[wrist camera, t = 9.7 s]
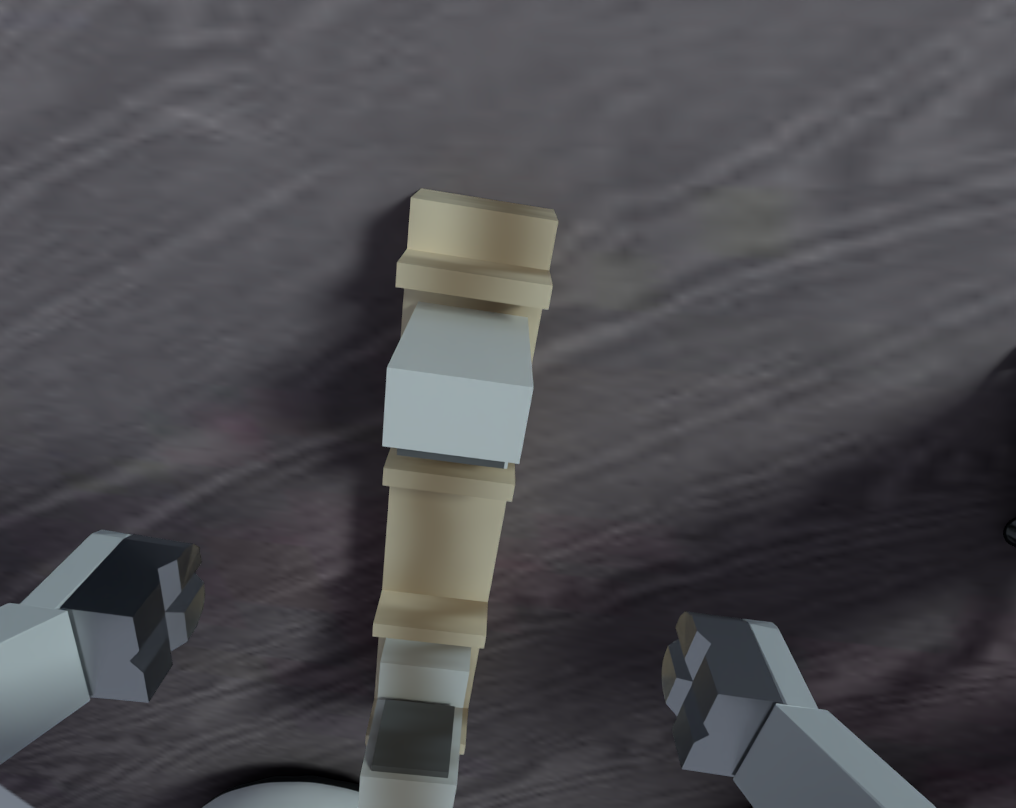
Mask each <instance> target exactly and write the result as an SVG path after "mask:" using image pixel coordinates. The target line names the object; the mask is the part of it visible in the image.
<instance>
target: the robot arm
mask: <svg viewBox="0 0 1016 808" xmlns="http://www.w3.org/2000/svg"><path fill="white" fill-rule="evenodd" d="M201 563H202V560H201V554H200V547H199V546H197V545H195V544H191V543H185V542H179V541H173V540H167V539H161V538H154V537H148V536H142V535H136V534H133V535H132V534H126V533H120V532H114V531H108V530H100V531H97V532H95V533H92V534H91V535H90V536H89V537H88V538H86V539H85V540H84V541H83V542H82V543H81V544H80V545H79V546H78V547H77V548H76V549H75V550H74V551H73V552H72V553H71V554H70V555H69V556H68V557H67V558H66V559H65V560H64V561H63V562H62V563H61V564H60V565H59V566H58V567H57V568H56V569H55V570H54V571H53V572H52V573H51V574H50V575H49V576H48V577H47V578H46V579H45V580H44V581H43V582H41V583H40V584H39V585H38V586H37V587H36V588H35V589H34V590H33V591H32V592H31V593H30V594H29V595H28V596H27V597H26V598H25V599H24V600H23V601H22V602H21V603H20V604H14V603H8V604H5V605H3V606H1V607H0V765H1V764H2V763H3V762H5V761H6V760H8V759H9V758H10V757H12V756H13V755H15V754H16V753H17V752H19V751H20V750H22V749H23V748H24V747H26V746H27V745H29V744H30V743H31V742H33V741H34V740H36V739H37V738H38V737H40V736H41V735H43V734H44V733H45V732H47V731H48V730H50V729H51V728H52V727H54V726H55V725H57V724H58V723H59V722H61V721H62V720H64V719H65V718H66V717H68V716H69V715H71V714H72V713H73V712H75V711H76V710H78V709H79V708H80V707H82V706H83V705H85V704H86V703H87V702H89V701H90V697H95V698H105V699H116V700H126V701H137V702H147V703H149V701H150V700H151V698H152V697H153V695H154V694H155V692H156V690H157V689H158V687H159V686H160V684H161V683H162V681H163V679H164V678H165V676H166V675H167V673H168V672H169V670H170V668H171V667H172V665H173V664H172V656H171V651H172V650H174V649H176V648H177V647H179V646H181V645H182V644H184V643H185V642H187V641H188V640H189V638H190V636H191V635H192V633H193V632H194V630H195V628H196V627H197V624H198V621H199V619H200V616H201V613H202V610H203V607H204V599H205V588H204V582H203V581H202V580H201V579H200V578H199V577H198V576H197V575H196V573H195V572H196V570H197V569H198V567H199V566H200V564H201ZM676 631H677V634H678V638H679V639H677V640H676V641H674V642H673V643H671V644H670V645H668V647H667V650H666V653H665V655H664V658H663V665H662V675H661V677H662V689H663V693H664V698H665V703H666V704H667V705H668V706H669V708H670V709H671V710H672V711H673V712H674V713H675V714H676V716H677V718H676V720H675V722H674V725H673V727H672V732H673V736H674V740H675V744H676V749H677V753H678V757H679V761H680V765H681V769H685V770H691V771H698V772H704V773H711V774H717V775H724V776H730V777H734V779H733V781H734V782H735V783H736V785H737V786H738V787H739V789H740V790H741V791H742V793H743V794H744V795H745V797H746V798H747V800H748V801H749V802H750V804H751V805H752V806H753V808H936V807H935V806H934V805H933V804H932V803H931V802H930V801H928V800H927V799H926V798H925V797H924V796H923V795H922V794H921V793H919V792H918V791H917V790H916V789H915V788H914V787H913V786H912V785H910V784H909V783H908V782H907V781H906V780H905V779H904V778H903V777H902V776H900V775H899V774H898V773H897V772H896V771H895V770H894V769H893V768H891V767H890V766H889V765H888V764H887V763H886V762H885V761H884V760H882V759H881V758H880V757H879V756H878V755H877V754H876V753H875V752H873V751H872V750H871V749H870V748H869V747H868V746H867V745H866V744H865V743H863V742H862V741H861V740H860V739H859V738H858V737H857V736H856V735H854V734H853V733H852V732H851V731H850V730H849V729H848V728H847V727H845V726H844V725H843V724H842V723H841V722H840V721H839V720H838V719H837V718H835V717H834V716H833V715H832V714H831V713H830V712H829V711H828V710H822V709H818V707H817V705H816V703H815V701H814V699H813V697H812V695H811V693H810V691H809V689H808V687H807V685H806V683H805V681H804V679H803V677H802V675H801V673H800V671H799V669H798V667H797V665H796V663H795V661H794V659H793V657H792V655H791V653H790V651H789V649H788V647H787V645H786V643H785V641H784V639H783V637H782V635H781V633H780V631H779V629H778V627H777V626H776V625H775V624H773V623H772V622H766V621H758V620H750V619H740V618H733V617H725V616H718V615H710V614H702V613H694V612H686V611H685V612H684V613H683V614H682V615H681V616H680V618H679V620H678V622H677V625H676Z"/></svg>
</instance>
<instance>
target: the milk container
mask: <svg viewBox="0 0 1016 808" xmlns="http://www.w3.org/2000/svg"><path fill="white" fill-rule="evenodd" d="M359 786H360V785H358V784H355V783H350V782H345V781H339V780H333V779H329V778H324V777H319V776H273V777H269V778H266V779H262V780H259V781H255V782H251V783H246V784H242V785H238V786H236V787H233V788H231V789H228V790H227V791H225V792H223V793H221V794H219V795H218V796H216V797H215V798H213V799H212V800H210V801H209V802H208V803H206V804H205V805H204V806H203V807H202V808H358V802H359Z"/></svg>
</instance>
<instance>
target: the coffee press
mask: <svg viewBox="0 0 1016 808" xmlns="http://www.w3.org/2000/svg"><path fill="white" fill-rule="evenodd" d="M1003 535H1004V538H1005V540H1006V542H1007V543H1009V544H1010V545H1012V546H1014V547H1015V548H1016V518H1014V519H1012V520H1011V521H1009V522H1008V523H1007V524H1006V526H1005V528H1004V531H1003Z"/></svg>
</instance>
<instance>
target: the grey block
mask: <svg viewBox="0 0 1016 808" xmlns="http://www.w3.org/2000/svg"><path fill="white" fill-rule="evenodd" d="M533 388H534V387H533V375H532V363H531V351H530V339H529V327H528V317H522V316H515V315H509V314H502V313H495V312H488V311H481V310H474V309H467V308H461V307H454V306H447V305H440V304H433V303H426V302H419V301H418V303H417V305H416V307H415V309H414V312H413V314H412V316H411V318H410V320H409V322H408V324H407V326H406V328H405V331H404V333H403V335H402V337H401V339H400V341H399V343H398V345H397V347H396V349H395V352H394V354H393V356H392V358H391V360H390V362H389V364H388V366H387V375H386V392H385V408H384V424H383V441H382V446H385V447H392V448H397V455H400V456H408V457H416V458H424V459H431V460H439V461H447V462H455V463H463V464H470V465H478V466H486V467H494V468H501V469H507V467H508V462H509V463H516V464H519V462H520V457H521V451H522V446H523V441H524V435H525V430H526V425H527V419H528V414H529V409H530V404H531V398H532V393H533Z"/></svg>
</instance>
